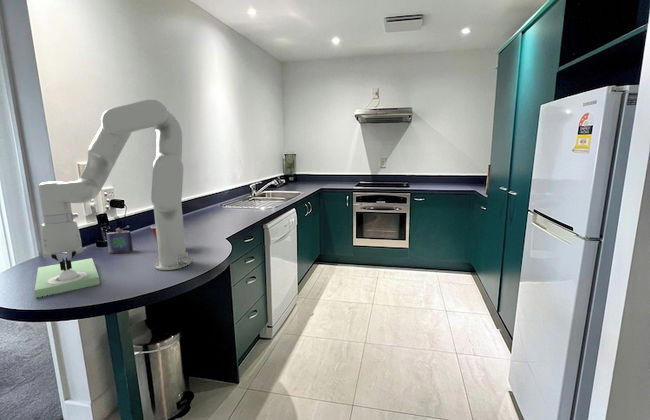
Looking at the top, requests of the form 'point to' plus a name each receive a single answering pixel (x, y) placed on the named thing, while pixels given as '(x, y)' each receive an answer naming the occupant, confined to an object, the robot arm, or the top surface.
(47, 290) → the tissue box
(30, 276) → the top surface
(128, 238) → the flask
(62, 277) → the ball
